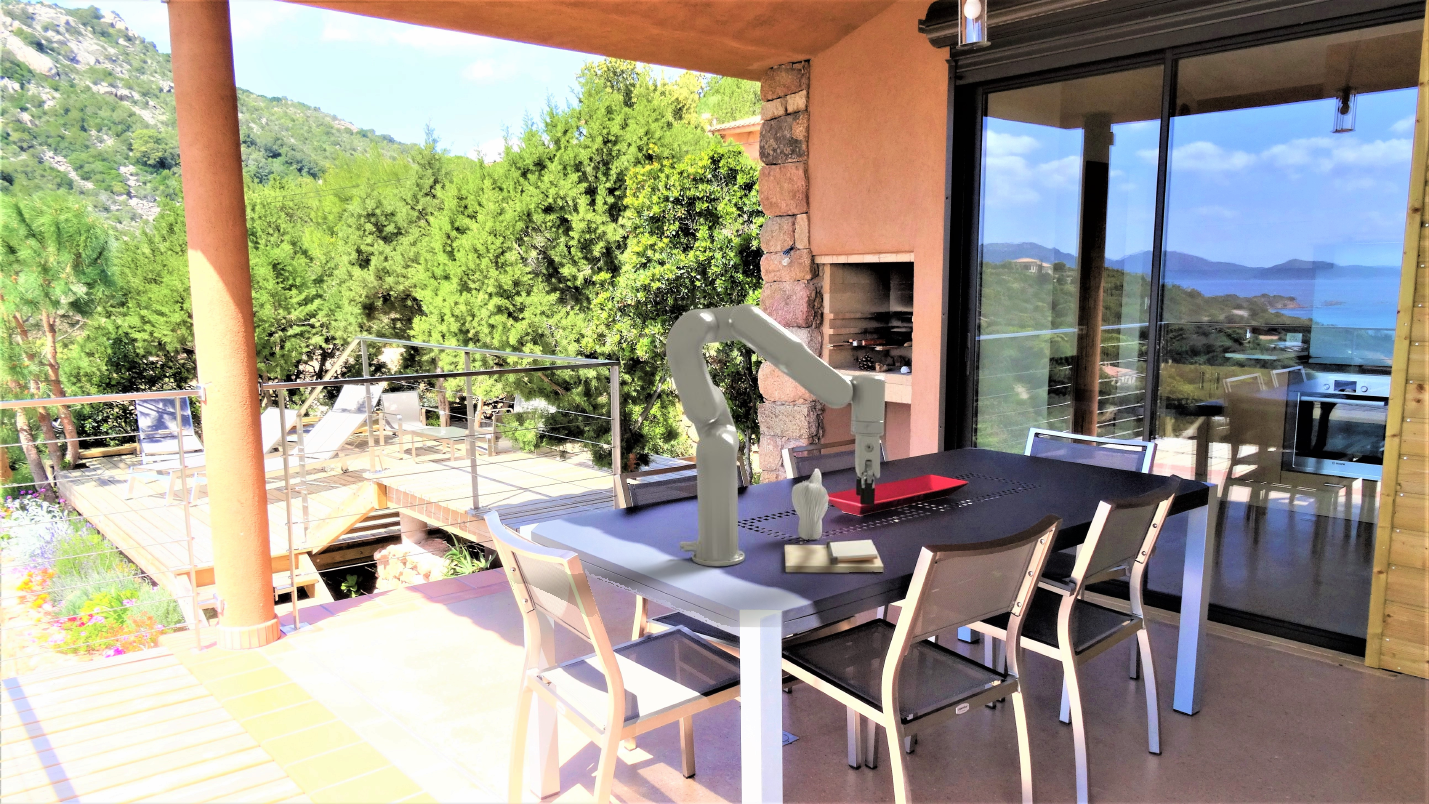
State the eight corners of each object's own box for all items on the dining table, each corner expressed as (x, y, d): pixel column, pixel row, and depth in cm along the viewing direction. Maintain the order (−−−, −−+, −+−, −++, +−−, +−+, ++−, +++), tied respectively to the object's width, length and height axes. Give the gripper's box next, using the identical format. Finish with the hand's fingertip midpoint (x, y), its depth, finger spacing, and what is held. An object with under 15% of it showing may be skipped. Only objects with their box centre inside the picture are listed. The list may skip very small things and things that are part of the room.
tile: (877, 553, 197) (877, 558, 198) (871, 539, 209) (871, 544, 209) (831, 556, 198) (831, 561, 198) (827, 542, 210) (828, 547, 210)
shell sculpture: (801, 544, 219) (801, 474, 217) (790, 535, 227) (790, 468, 225) (832, 541, 222) (832, 472, 220) (819, 533, 230) (819, 466, 228)
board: (785, 571, 197) (785, 558, 196) (784, 550, 214) (784, 538, 213) (883, 572, 195) (883, 559, 195) (874, 551, 212) (874, 539, 212)
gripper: (888, 433, 192) (885, 509, 193) (879, 423, 209) (876, 492, 211) (854, 432, 192) (852, 508, 194) (847, 422, 209) (845, 491, 211)
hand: (864, 499), depth 202 cm, fingers open, 9 cm apart
